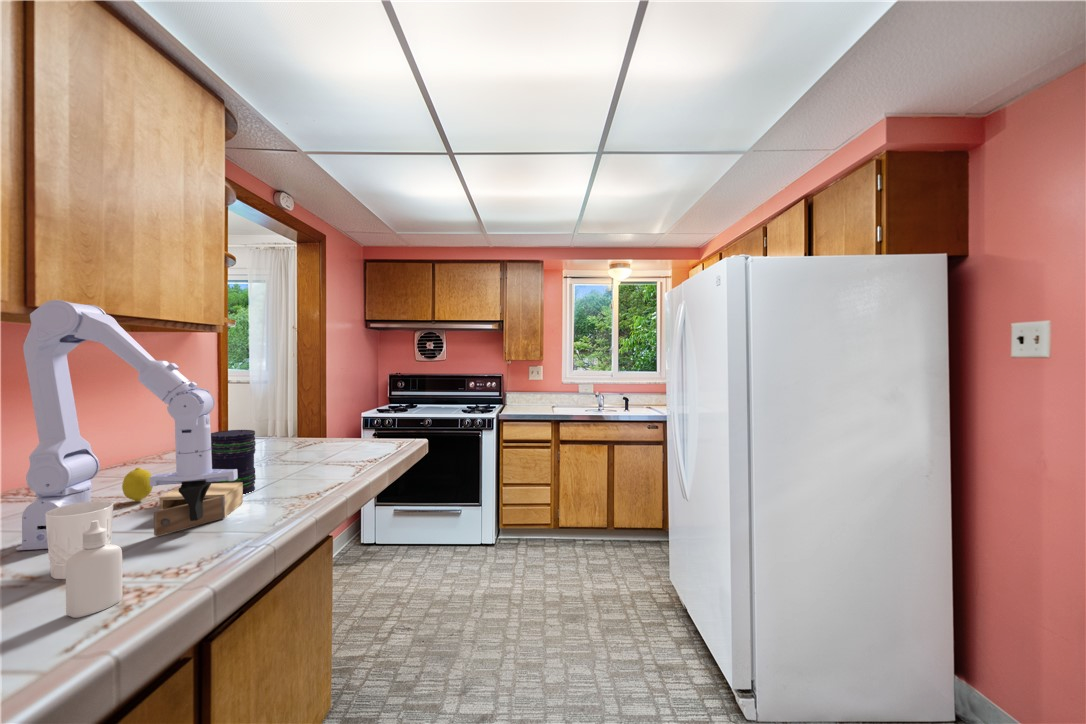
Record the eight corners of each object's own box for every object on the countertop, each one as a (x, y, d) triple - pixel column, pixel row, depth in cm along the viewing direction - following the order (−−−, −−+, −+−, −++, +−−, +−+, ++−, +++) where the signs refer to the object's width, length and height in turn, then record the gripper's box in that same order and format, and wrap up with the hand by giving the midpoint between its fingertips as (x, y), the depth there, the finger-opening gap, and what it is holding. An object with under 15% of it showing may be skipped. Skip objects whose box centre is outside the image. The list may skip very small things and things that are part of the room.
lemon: (159, 498, 116) (159, 465, 116) (137, 506, 110) (137, 471, 110) (138, 498, 116) (138, 464, 116) (115, 505, 111) (115, 470, 111)
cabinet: (224, 517, 103) (224, 494, 103) (159, 521, 100) (159, 497, 100) (242, 503, 113) (242, 482, 113) (183, 506, 110) (183, 484, 110)
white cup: (122, 557, 83) (122, 498, 83) (99, 577, 76) (99, 513, 75) (62, 563, 80) (62, 503, 80) (33, 585, 73) (33, 518, 73)
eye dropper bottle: (68, 608, 66) (68, 520, 66) (123, 595, 70) (123, 512, 70) (63, 622, 63) (63, 530, 63) (121, 608, 66) (121, 521, 66)
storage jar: (234, 498, 116) (234, 436, 116) (198, 496, 118) (198, 435, 118) (264, 487, 126) (264, 430, 126) (231, 485, 128) (231, 429, 128)
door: (227, 518, 102) (227, 496, 102) (158, 537, 91) (158, 513, 91) (223, 517, 103) (223, 495, 103) (154, 535, 92) (154, 511, 92)
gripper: (242, 444, 101) (244, 509, 102) (162, 449, 98) (165, 515, 98) (228, 451, 94) (230, 520, 95) (142, 456, 91) (144, 528, 91)
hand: (196, 519), depth 96 cm, fingers closed, pressing on door
